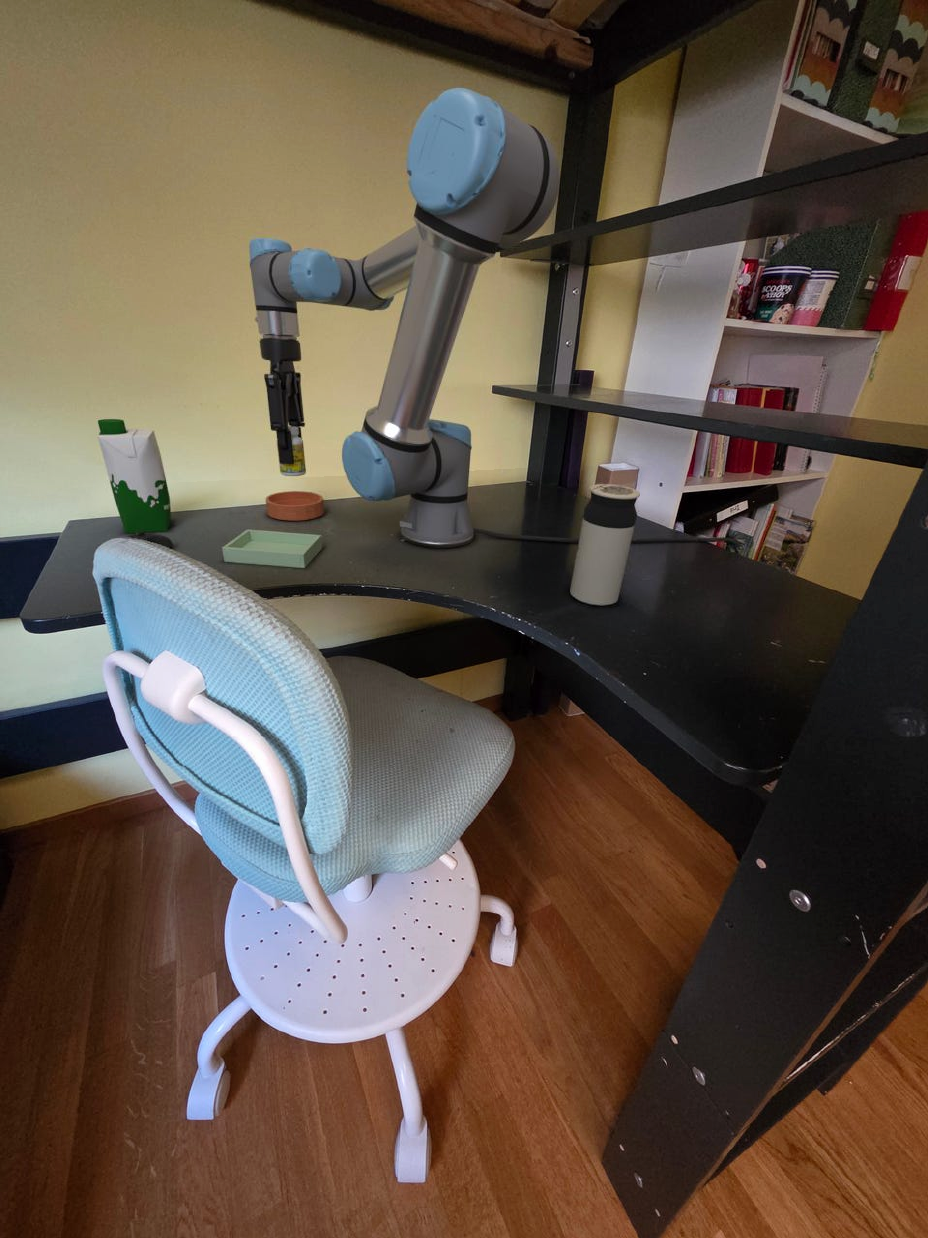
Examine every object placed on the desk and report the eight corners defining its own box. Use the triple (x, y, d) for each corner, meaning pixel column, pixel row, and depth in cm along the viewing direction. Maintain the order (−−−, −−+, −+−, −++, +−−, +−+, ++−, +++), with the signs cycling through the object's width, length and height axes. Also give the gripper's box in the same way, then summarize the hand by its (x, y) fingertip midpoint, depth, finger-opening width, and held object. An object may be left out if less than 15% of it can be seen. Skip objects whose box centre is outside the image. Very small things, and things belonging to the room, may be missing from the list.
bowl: (330, 508, 121) (329, 493, 119) (314, 523, 110) (312, 507, 108) (279, 504, 121) (278, 489, 120) (258, 519, 110) (256, 503, 109)
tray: (322, 548, 98) (321, 535, 97) (304, 568, 89) (303, 554, 88) (249, 542, 98) (247, 529, 97) (224, 561, 89) (221, 547, 88)
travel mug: (626, 598, 86) (651, 492, 78) (600, 611, 81) (624, 499, 73) (586, 582, 91) (606, 481, 83) (560, 594, 86) (578, 487, 78)
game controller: (139, 561, 84) (109, 534, 83) (124, 580, 87) (94, 553, 85) (177, 542, 93) (150, 517, 91) (162, 559, 95) (136, 535, 94)
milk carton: (127, 521, 104) (100, 416, 95) (177, 519, 107) (155, 417, 98) (119, 535, 97) (89, 424, 88) (173, 532, 100) (150, 424, 91)
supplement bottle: (301, 470, 115) (297, 425, 110) (309, 475, 111) (305, 428, 106) (277, 472, 112) (271, 425, 107) (284, 477, 108) (279, 429, 103)
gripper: (278, 338, 107) (290, 452, 118) (239, 335, 91) (256, 468, 102) (313, 340, 107) (322, 454, 118) (280, 337, 91) (294, 470, 102)
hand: (292, 460), depth 110 cm, fingers closed on supplement bottle, 5 cm apart
